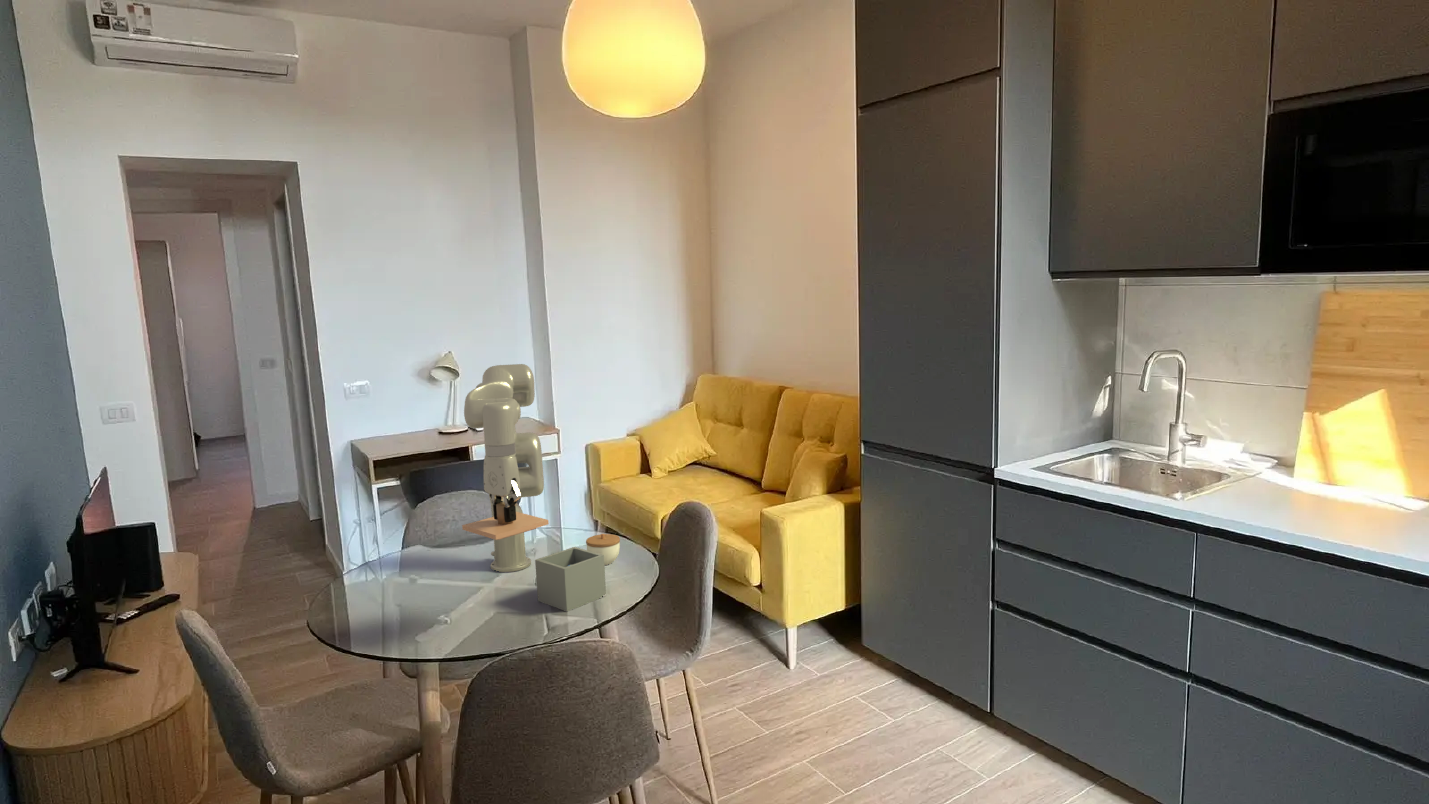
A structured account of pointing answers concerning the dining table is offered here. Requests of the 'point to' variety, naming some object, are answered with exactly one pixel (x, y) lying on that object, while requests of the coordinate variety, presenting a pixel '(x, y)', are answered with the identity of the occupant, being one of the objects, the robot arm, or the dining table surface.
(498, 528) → the lid
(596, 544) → the lidded jar
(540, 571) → the storage box
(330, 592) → the dining table surface
